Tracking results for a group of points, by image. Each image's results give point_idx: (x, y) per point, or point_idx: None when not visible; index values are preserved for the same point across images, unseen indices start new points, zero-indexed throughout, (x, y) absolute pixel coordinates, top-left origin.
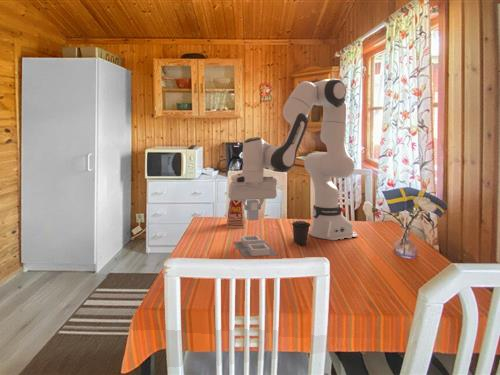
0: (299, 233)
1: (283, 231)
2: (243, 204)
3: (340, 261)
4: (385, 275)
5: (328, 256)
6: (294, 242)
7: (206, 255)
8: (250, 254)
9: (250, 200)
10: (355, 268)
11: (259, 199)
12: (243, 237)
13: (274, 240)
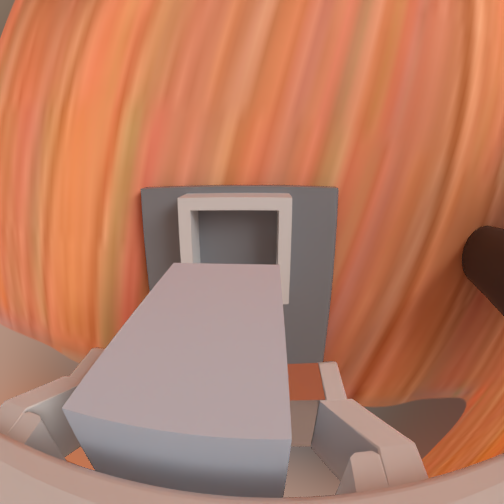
0: (499, 310)
1: (479, 29)
2: (54, 398)
3: (466, 425)
4: None
5: (472, 393)
6: (467, 259)
7: (44, 323)
8: None
9: (138, 471)
10: (456, 457)
11: (349, 487)
12: (187, 230)
13: (404, 160)
